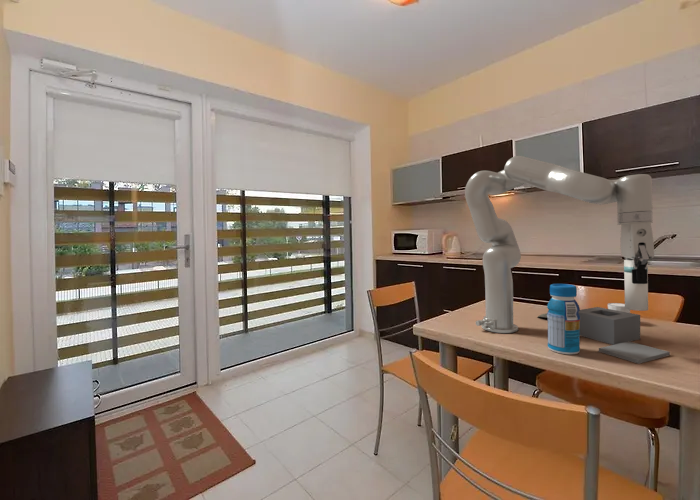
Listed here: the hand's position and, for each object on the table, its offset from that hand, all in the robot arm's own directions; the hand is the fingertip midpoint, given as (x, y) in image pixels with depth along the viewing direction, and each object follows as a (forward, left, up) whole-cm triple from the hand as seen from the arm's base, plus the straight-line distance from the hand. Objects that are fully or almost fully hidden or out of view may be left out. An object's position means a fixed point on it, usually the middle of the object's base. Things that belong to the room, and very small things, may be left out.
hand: (635, 281), depth 91 cm
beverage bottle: (-15, +10, -21) cm, 28 cm away
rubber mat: (0, 0, -21) cm, 21 cm away
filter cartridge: (0, 0, -8) cm, 8 cm away
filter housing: (+9, +13, -21) cm, 27 cm away
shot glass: (+30, +21, -21) cm, 43 cm away
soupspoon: (+9, +31, -22) cm, 39 cm away
